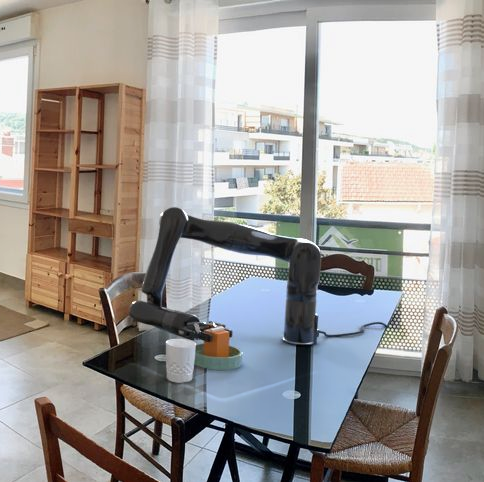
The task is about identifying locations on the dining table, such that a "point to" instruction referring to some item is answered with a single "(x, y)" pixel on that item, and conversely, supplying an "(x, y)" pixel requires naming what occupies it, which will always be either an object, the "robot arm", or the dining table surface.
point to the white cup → (180, 360)
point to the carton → (217, 343)
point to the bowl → (218, 359)
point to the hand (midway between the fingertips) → (221, 336)
